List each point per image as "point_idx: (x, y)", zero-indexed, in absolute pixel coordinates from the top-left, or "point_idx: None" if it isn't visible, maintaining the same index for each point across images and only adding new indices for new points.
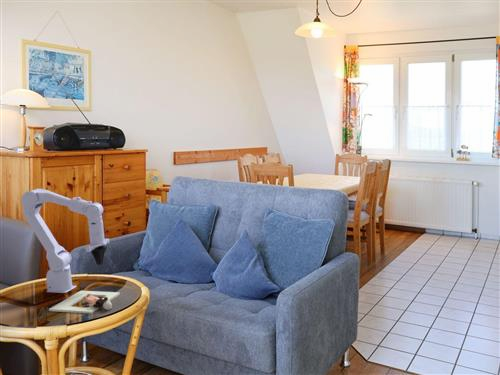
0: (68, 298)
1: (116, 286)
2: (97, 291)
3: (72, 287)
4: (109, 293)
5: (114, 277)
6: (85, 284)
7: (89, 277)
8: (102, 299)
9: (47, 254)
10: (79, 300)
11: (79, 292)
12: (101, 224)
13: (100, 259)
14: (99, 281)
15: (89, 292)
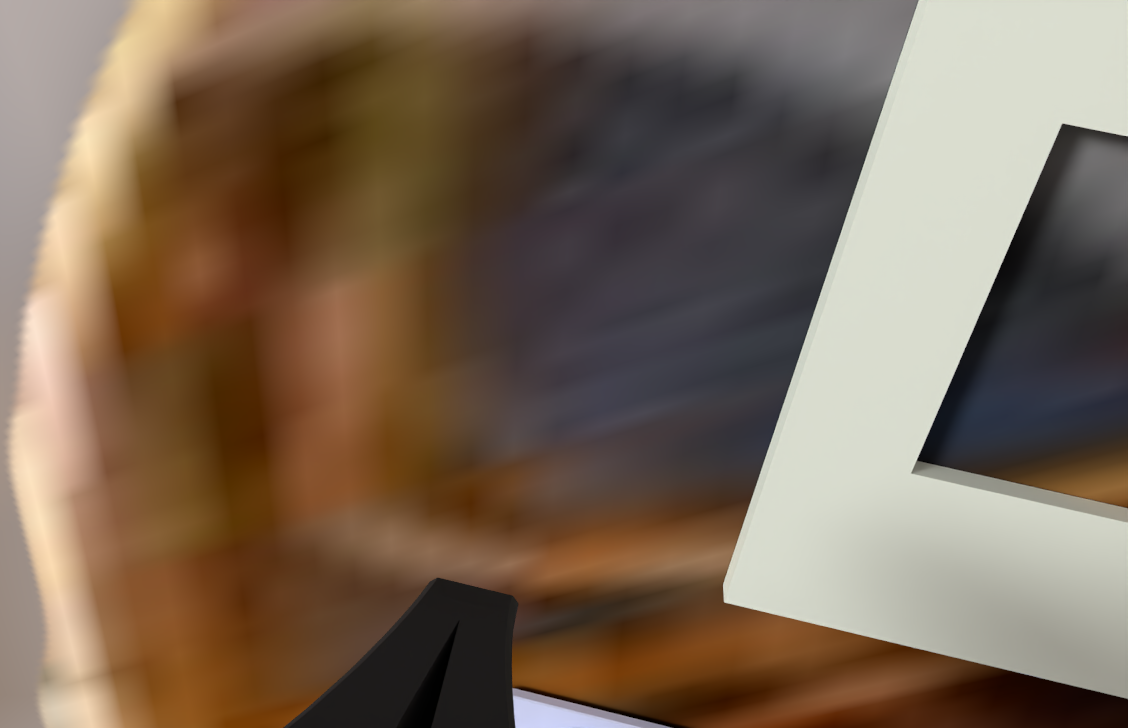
0: (1040, 663)
1: (487, 155)
2: (809, 365)
3: (564, 724)
4: (969, 115)
5: (89, 336)
6: None
7: (150, 644)
8: None
9: None
10: (1117, 509)
11: (805, 599)
12: None
13: (511, 712)
14: (278, 488)
15: (835, 469)
